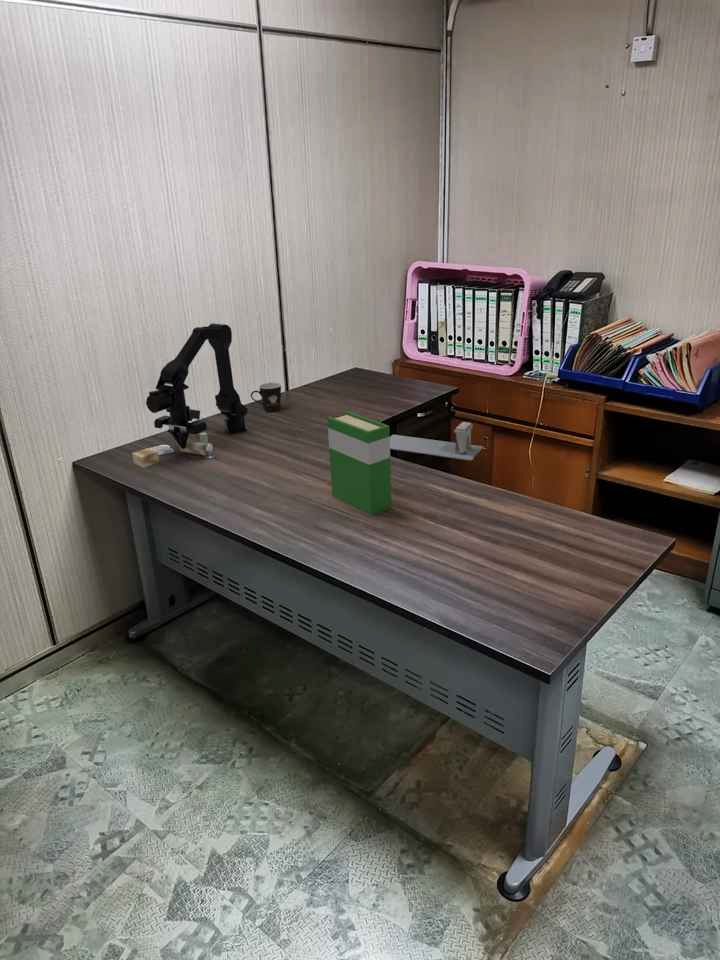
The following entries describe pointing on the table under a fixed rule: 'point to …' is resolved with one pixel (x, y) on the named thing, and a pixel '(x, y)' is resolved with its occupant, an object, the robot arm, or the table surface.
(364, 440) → the hardback book
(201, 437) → the post
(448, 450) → the slab with upright peg
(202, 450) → the gate rail
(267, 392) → the coffee mug
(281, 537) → the table surface
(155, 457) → the oak block
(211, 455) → the metal door knob
